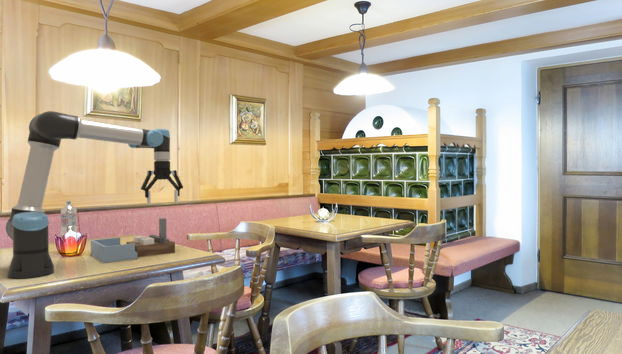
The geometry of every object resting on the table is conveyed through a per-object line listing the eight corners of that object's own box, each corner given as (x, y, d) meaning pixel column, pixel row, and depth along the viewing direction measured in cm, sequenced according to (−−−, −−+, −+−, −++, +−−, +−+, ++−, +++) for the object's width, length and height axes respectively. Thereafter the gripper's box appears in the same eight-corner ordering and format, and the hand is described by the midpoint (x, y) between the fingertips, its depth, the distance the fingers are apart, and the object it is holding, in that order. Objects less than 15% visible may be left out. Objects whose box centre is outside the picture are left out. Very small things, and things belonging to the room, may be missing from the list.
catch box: (137, 258, 200) (137, 243, 200) (103, 263, 192) (103, 246, 191) (121, 251, 219) (121, 237, 219) (90, 254, 210) (90, 240, 210)
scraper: (172, 242, 215) (172, 219, 215) (160, 243, 211) (159, 220, 211) (161, 238, 227) (161, 217, 226) (149, 239, 223) (149, 217, 223)
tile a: (154, 243, 210) (154, 238, 210) (143, 245, 207) (143, 239, 207) (150, 242, 214) (150, 237, 214) (139, 243, 211) (139, 238, 211)
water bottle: (59, 253, 215) (58, 201, 215) (74, 251, 220) (73, 200, 220) (64, 254, 211) (63, 202, 210) (79, 252, 216) (78, 201, 215)
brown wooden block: (175, 252, 215) (174, 242, 215) (136, 257, 204) (136, 246, 204) (163, 248, 228) (163, 238, 228) (126, 252, 216) (126, 242, 216)
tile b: (147, 241, 216) (147, 236, 216) (136, 243, 213) (136, 237, 213) (144, 240, 220) (144, 235, 220) (133, 241, 217) (133, 236, 217)
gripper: (183, 160, 230) (184, 201, 230) (133, 160, 214) (134, 204, 214) (189, 160, 224) (190, 202, 224) (138, 160, 208) (139, 205, 209)
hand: (162, 203), depth 219 cm, fingers open, 13 cm apart
